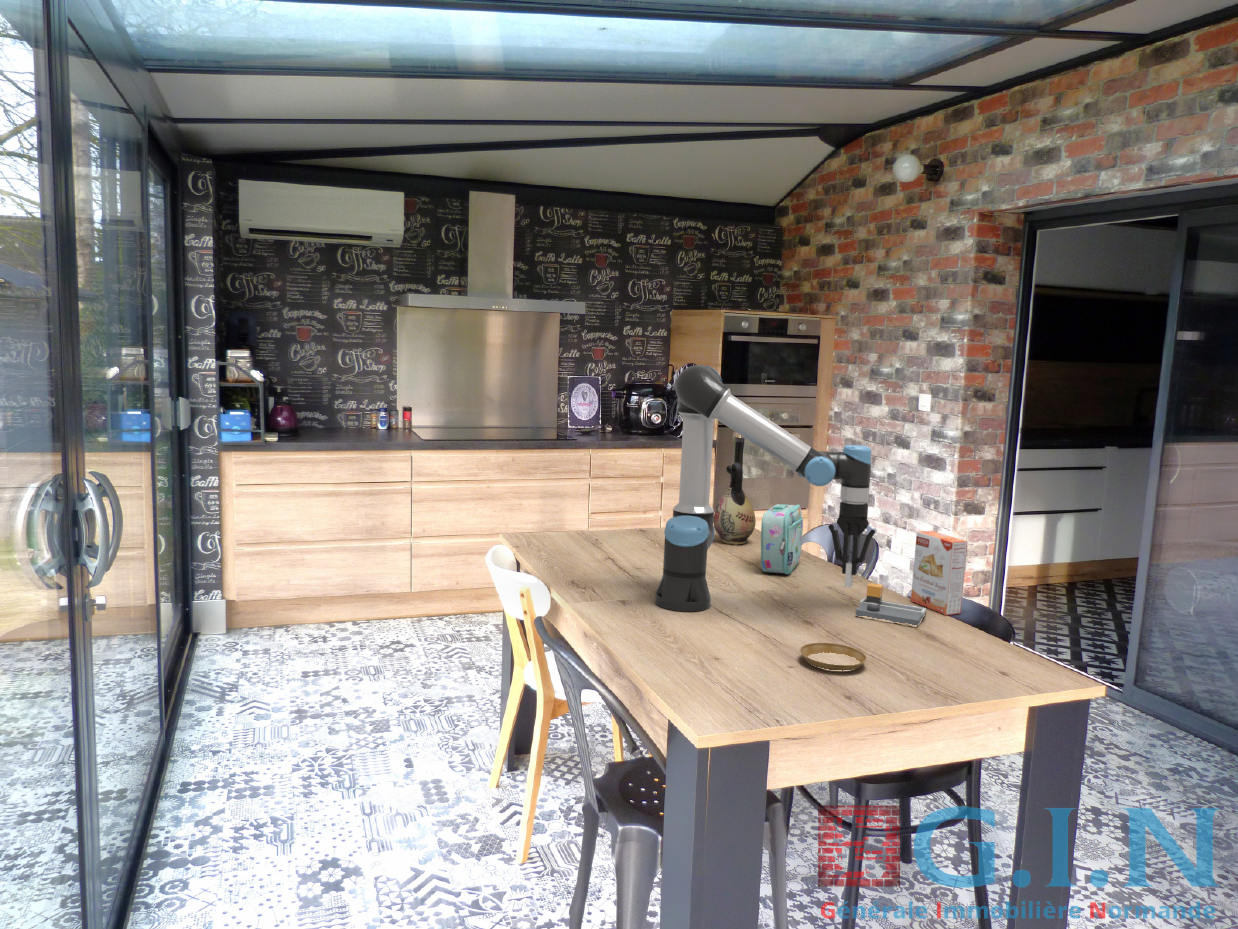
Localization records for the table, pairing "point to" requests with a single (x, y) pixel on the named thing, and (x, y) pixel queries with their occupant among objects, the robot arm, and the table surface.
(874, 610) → the console
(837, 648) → the plant saucer
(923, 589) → the cracker box
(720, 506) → the ceramic jug
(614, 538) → the table surface
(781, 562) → the lunch box
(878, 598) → the fader tab
